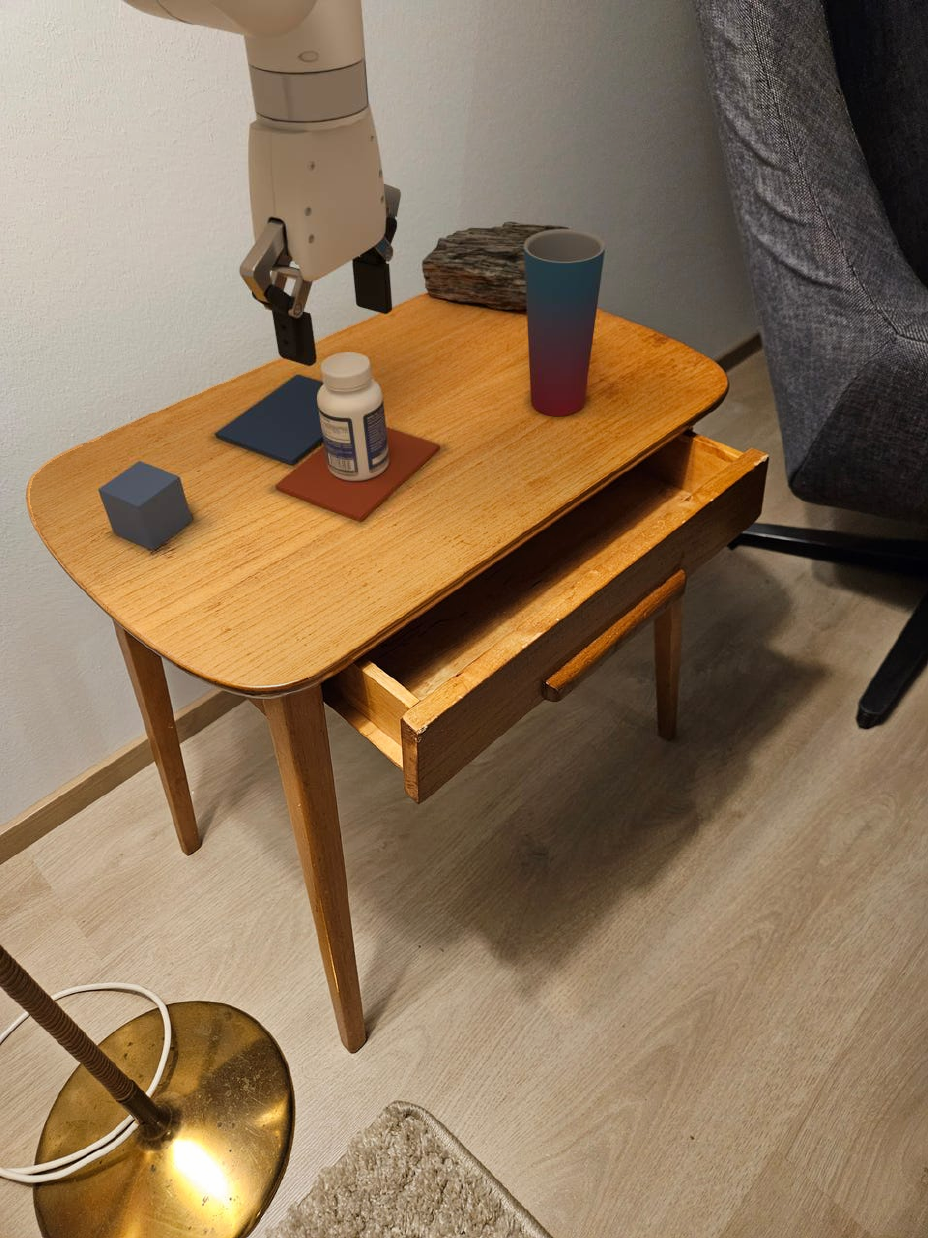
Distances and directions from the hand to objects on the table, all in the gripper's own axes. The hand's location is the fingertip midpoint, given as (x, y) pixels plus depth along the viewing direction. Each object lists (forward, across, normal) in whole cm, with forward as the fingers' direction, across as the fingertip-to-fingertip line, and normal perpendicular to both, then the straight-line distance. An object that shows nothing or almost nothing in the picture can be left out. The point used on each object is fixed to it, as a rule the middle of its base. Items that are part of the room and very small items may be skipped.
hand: (337, 333), depth 75 cm
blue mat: (+13, -4, -10) cm, 17 cm away
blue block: (+13, +14, -10) cm, 22 cm away
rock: (+6, -36, -13) cm, 38 cm away
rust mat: (+13, -1, 0) cm, 13 cm away
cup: (+13, -19, +10) cm, 25 cm away
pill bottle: (+13, -1, 0) cm, 13 cm away
